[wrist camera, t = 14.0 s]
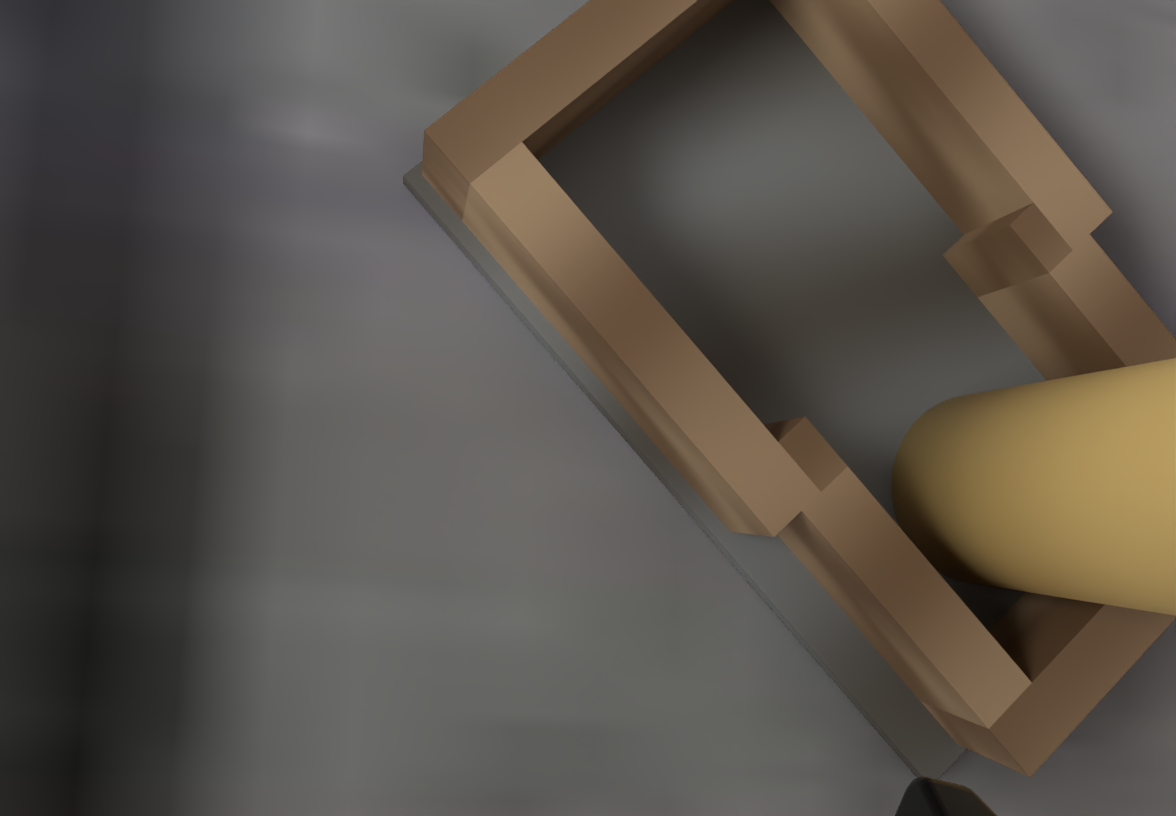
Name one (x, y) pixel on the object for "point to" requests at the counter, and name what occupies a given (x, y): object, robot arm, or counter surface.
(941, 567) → the peg
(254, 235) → the counter surface
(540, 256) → the frame
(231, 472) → the counter surface
